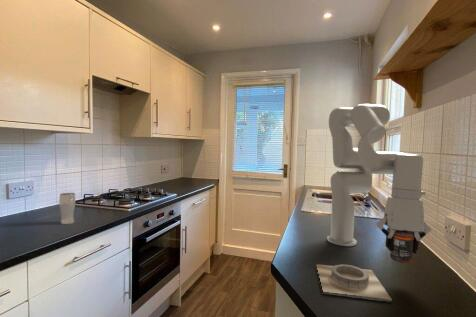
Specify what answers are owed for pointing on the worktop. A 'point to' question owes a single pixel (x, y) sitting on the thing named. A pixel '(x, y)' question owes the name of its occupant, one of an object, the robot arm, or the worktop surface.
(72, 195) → the beer glass
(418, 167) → the robot arm
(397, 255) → the supplement bottle
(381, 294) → the collar board
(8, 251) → the worktop surface
